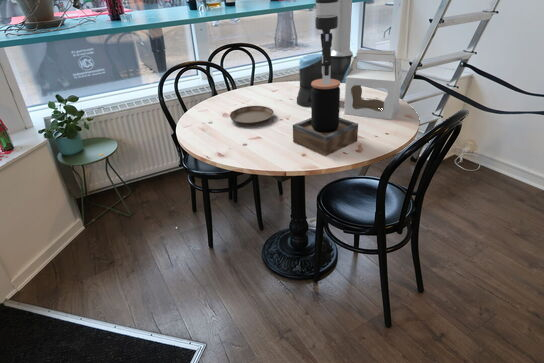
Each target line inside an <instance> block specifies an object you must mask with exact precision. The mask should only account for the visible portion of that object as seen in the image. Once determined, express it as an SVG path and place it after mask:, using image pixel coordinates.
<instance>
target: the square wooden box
mask: <svg viewBox="0 0 544 363" xmlns="http://www.w3.org/2000/svg"><path fill="white" fill-rule="evenodd" d="M358 134H359V122H358V123H357V122H354V121H350V120H348V119H345V118H341V117H339V126H338V128H337V129H336V130H335V131H333V132H327V133H322V132H317V131H315V130H314V129H313V127H312V126H311V117H310V118H307V119H304V120H302V121H299V122H296V123H294V124H292V142H293V143H294V144H296V145H298V146H301V147H303V148H304V149H305V148H306V149H308V150H310V151H313V152H314V153H317V154H319V155H321V156H325V157H327V156H329V155H331V154H334V153H336V152H338V151H339V150H342V149H344V148H347V147H348V146H350V145H353V144H355V143H357V142H358V137H359V136H358Z"/></svg>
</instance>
